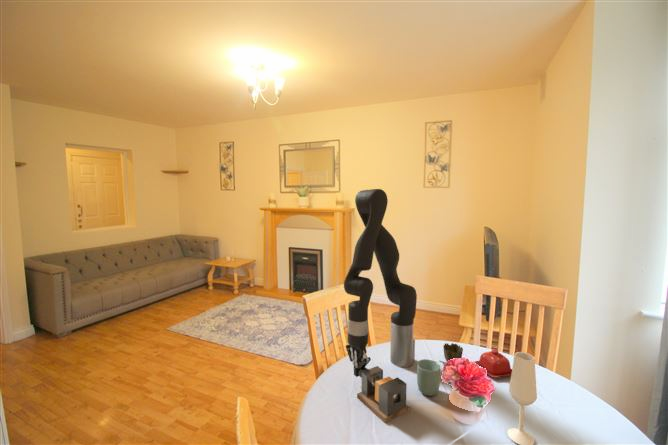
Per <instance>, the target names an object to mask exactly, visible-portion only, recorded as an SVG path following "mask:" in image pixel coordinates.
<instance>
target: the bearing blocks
mask: <svg viewBox="0 0 668 445" xmlns="http://www.w3.org/2000/svg"><path fill="white" fill-rule="evenodd" d="M367 369H368V370H366V371H363V372H362V378H361V392H362V394H363V395H364V396H366V397H367V398H368V397H370V396H372V395H374V394H375V386H374V385H373V384H372V378H374V377H376V378H377V379H379V380H381V379H384V370H383V369H382V368H381V367H379V366H378V365H377V366H374V367H371V368H367ZM392 379H393V380H390V381H388V382H386V383H383V384H381V385H379V410H380V411H381V412H382V413H383V414H384V415H385V416H387V417H389V416H391V415H393V414H394V413H396V412H398V411H400V410H402V409H404V408H406V405H407V387H408V386H407V383H406V382H405V381H404V380H402V379H400V378H399V377H395V378H392ZM396 394H398V399H397V400H396V401H393V400H394V395H396Z"/></svg>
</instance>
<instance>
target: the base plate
mask: <svg viewBox="0 0 668 445" xmlns="http://www.w3.org/2000/svg"><path fill="white" fill-rule="evenodd" d="M356 398H357V400H359V401H360V402H361V403H362V404H363V405H364V406H365V407H367V409H369V410H370V411H371V412H372V413H373V414H374V415H375V416H376V417H378V419H380V420H381V421H382V422H383V423H385V424H386V423H387V422H389V421H392V420H394V419H395V418H397V417H399V416H401V415H403V414H405V413H408V411H409V405H407V404H406V408H404V409H402V410H400V411H398V412H396V413H394V414H393V415H391V416H389V417H387V416H385V415H384V414H383V413H382V412H381V411H380V410H379V403H378V402H377V401H376V400H375V394H374V395H372V396H370V397H368V398H367V397H366V396H364V395H363V394H362V391H360V392H357V394H356Z"/></svg>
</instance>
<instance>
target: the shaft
mask: <svg viewBox="0 0 668 445" xmlns="http://www.w3.org/2000/svg"><path fill="white" fill-rule="evenodd" d="M368 369H369V368H367V367H366V366H365V367H362V368H361V369H360V370H359V376H358V377H360V378H361V379H362V372H363V371H366V370H368ZM378 380H379V379H377V378H376V377H374V378H372V384H373V385H374V386H375V382H376V381H378ZM397 399H398V394H396V395H394V400H393V401H396V400H397Z"/></svg>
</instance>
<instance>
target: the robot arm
mask: <svg viewBox="0 0 668 445" xmlns="http://www.w3.org/2000/svg"><path fill="white" fill-rule="evenodd" d="M354 199H355V200H354V202H355V206H356V207H355V208H356V210H357V212H358V214H359V216H360V218H361V222H362V224H363V225H364V227H365V228H364V229H363V231H362V233H361V234H360V236H359V238H358V239H357V241H356V244H355V246H354V252H353V257H352V263H351V265H350V268H349V269H348V272H347V274H346V276H345V278H344V282H343V288H344V292H345V293H346V294H348V295H350V296H355V297H358V298H359V299H358V300H353V301H351V302H350V303H349V304H348V316H347V343H348V344H346V345H345V348H346V352H347V355H348V358H349V361H350V363H351V362H352V366H353V376H354V377H357V378H358V377H360V376H359V370H360V369H361V368H362V367H366V366H367V365H368V364H369V363H370V362H371V360H372V359H371V357H369V356H368V355H367V345H368V344H369V321H368V320H369V318H368V317H369V305H370V302H371V299H372V298H371V297H372V295H373V290H374V284H373V281H372V280H371V279H370V278H369V277H365V276H360V274H361V272H364V271H370V270H371V269H372V266H373V259H374V256H375V258H376V261H377V263H378V266H379V269H380V273H381V276H382V280H383V283H384V288H385V293H386V296H387V298H388V300H389V301H390V302H391V303H392V304H394V305H396V306H399V310H398V311H395V312H392V314H391V315H390V352H389V353H390V357H389V358H390V359H389V360H390V363H391V364H392V365H394V366H396V367H399V368H408V367H411V366H413V363H414V362H415V356H416V355H415V354H416V353H415V351H416V350H415V349H416V348H415V347H416V340H415V338H414V323H415V322H414V321H415V320H414V319H415V317H416V310H417V301H418V300H417V298H418V297H417V296H418V295H417V290H416V289H415V287H414V286H412V285H410V284H407V283H403V282H401V279H400V278H399V274H398V271H397V268H398V266H399V263H400V262H399V261H400V252H399V247H398V245H397V243H396V240H395V238H394V237H393V235H392V234H391V233H390V231H389V230H387V229H386V227H385V226H384V225H383V224H382V223H383V220H384V218H385V214H386V213H387V212H386V211H387V209H388V208H387V207H388V203H389V202H388V195H387V193H386V191H384V190H383V189H382V188H374V189H373V188H372V189H364V190H360V191H358V192H357V193H356V195H355V198H354Z"/></svg>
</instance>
